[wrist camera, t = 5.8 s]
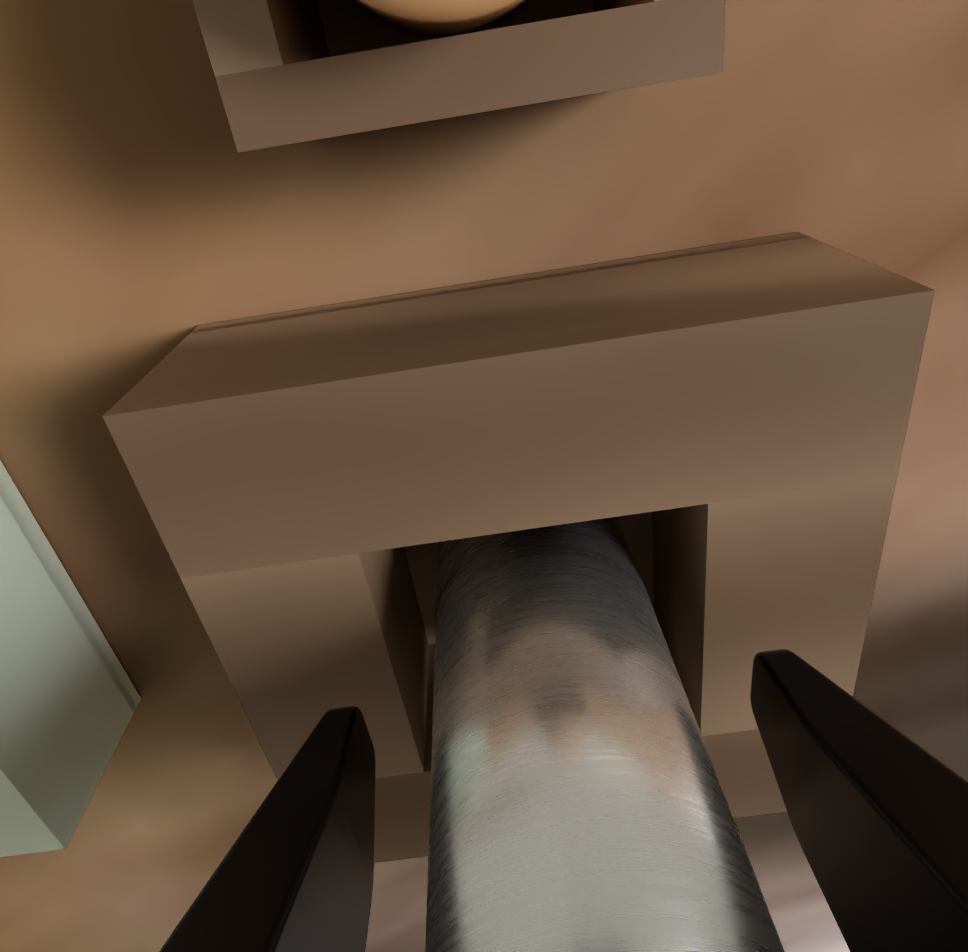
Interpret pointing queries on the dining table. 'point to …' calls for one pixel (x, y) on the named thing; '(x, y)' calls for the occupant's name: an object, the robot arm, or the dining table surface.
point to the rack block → (50, 690)
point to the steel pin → (572, 763)
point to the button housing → (437, 61)
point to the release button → (442, 15)
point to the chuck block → (535, 478)
